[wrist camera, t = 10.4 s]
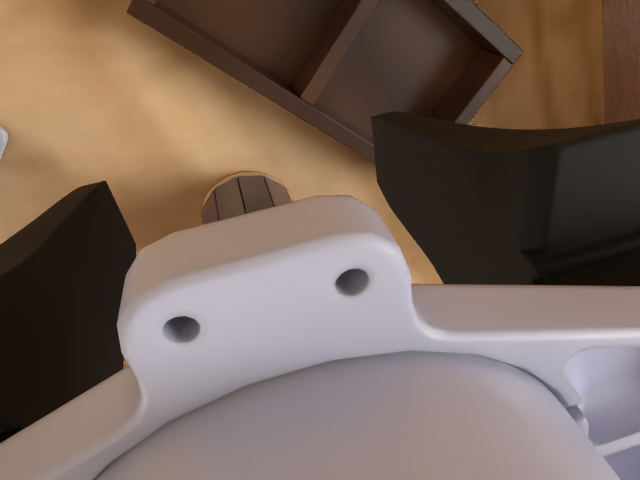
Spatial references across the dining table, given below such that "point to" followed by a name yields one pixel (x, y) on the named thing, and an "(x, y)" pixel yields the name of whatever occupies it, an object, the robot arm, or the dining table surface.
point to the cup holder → (346, 55)
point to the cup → (243, 196)
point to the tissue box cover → (622, 60)
